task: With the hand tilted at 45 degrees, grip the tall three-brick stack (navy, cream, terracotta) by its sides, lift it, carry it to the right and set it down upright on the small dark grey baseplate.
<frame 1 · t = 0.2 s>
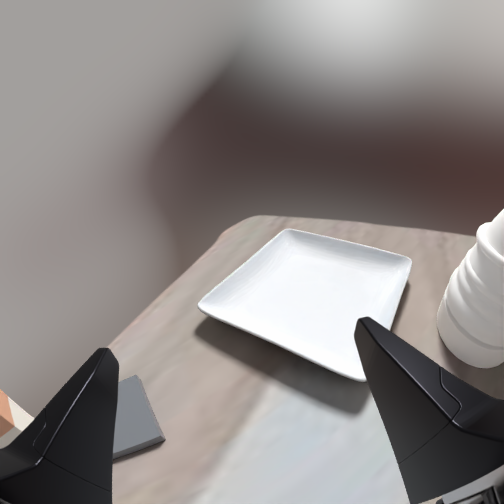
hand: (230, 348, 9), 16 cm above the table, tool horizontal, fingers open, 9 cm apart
baseplate: (119, 421, 21), on the table
salad plate: (315, 301, 34), on the table
honey pot: (477, 327, 23), on the table
brick stack: (53, 456, 16), on the table
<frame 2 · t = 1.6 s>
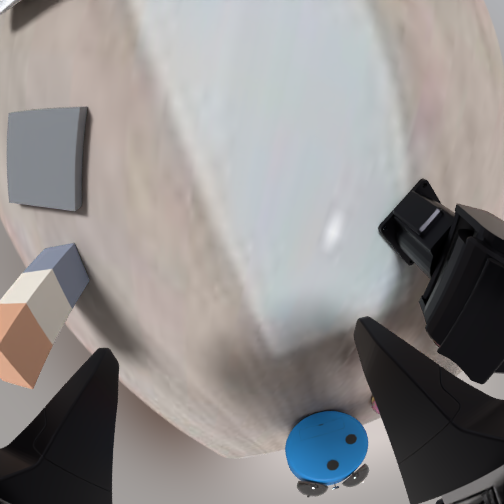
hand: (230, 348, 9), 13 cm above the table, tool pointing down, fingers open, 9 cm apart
baseplate: (45, 155, 16), on the table
brick stack: (66, 264, 21), on the table
alarm clock: (317, 416, 40), on the table
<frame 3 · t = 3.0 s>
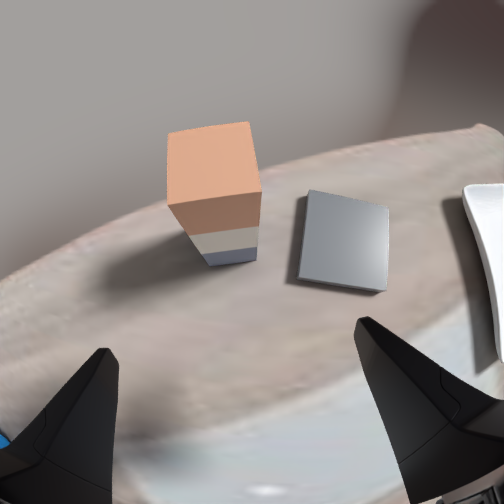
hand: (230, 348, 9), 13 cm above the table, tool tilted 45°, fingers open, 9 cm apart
baseplate: (344, 242, 24), on the table
brick stack: (230, 241, 24), on the table
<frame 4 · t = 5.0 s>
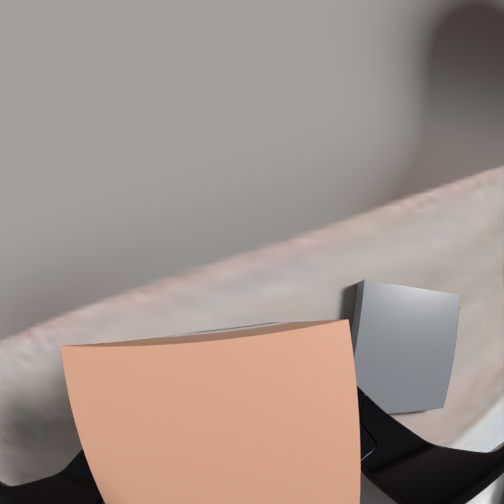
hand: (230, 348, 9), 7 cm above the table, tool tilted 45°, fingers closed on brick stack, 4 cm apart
baseplate: (402, 350, 15), on the table
brick stack: (242, 360, 15), on the table, touching gripper
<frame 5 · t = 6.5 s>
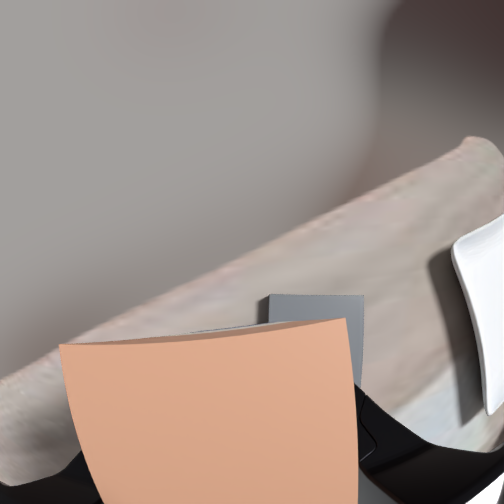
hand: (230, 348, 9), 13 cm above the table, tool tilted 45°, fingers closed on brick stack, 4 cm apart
baseplate: (314, 343, 22), on the table
salad plate: (503, 301, 23), on the table
brick stack: (241, 360, 15), point 7 cm above the table, touching gripper
when the fingers open (9 cm above the table, at t = 8.3 s): brick stack drops 1 cm, resting on baseplate.
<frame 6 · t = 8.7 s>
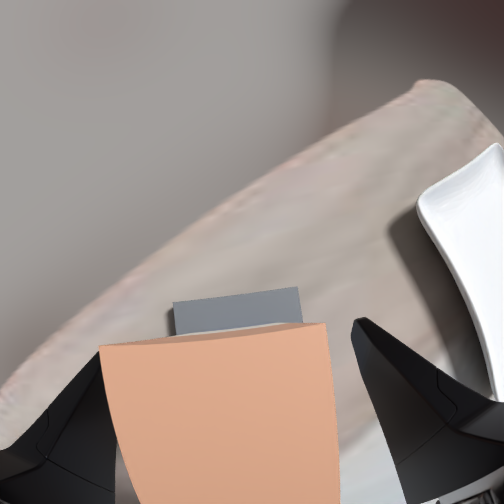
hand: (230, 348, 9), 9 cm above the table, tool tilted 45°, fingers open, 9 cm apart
baseplate: (243, 355, 17), on the table
salad plate: (498, 261, 19), on the table
brick stack: (242, 358, 16), point 1 cm above the table, touching baseplate
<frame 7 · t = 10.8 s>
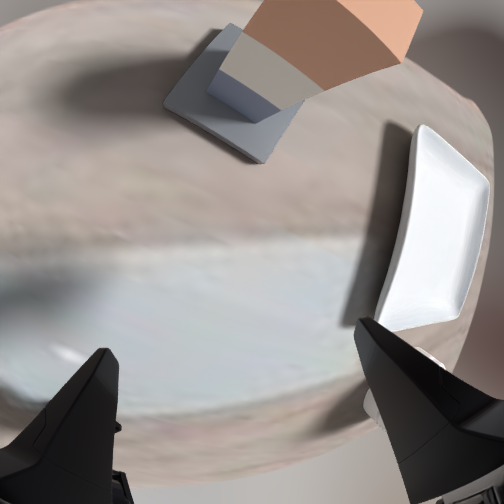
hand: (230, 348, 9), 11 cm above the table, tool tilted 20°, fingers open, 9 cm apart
baseplate: (241, 91, 17), on the table
salad plate: (432, 236, 28), on the table
honey pot: (394, 381, 34), on the table
brick stack: (246, 86, 16), point 1 cm above the table, touching baseplate
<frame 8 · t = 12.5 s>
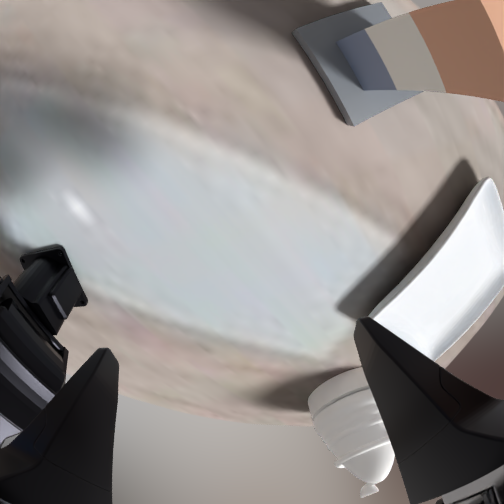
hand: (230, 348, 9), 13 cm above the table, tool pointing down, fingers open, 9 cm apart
baseplate: (363, 59, 15), on the table
salad plate: (447, 278, 28), on the table
honey pot: (346, 389, 36), on the table
brick stack: (371, 57, 14), point 1 cm above the table, touching baseplate
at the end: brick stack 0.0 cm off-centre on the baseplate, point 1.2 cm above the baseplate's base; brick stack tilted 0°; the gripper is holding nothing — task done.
